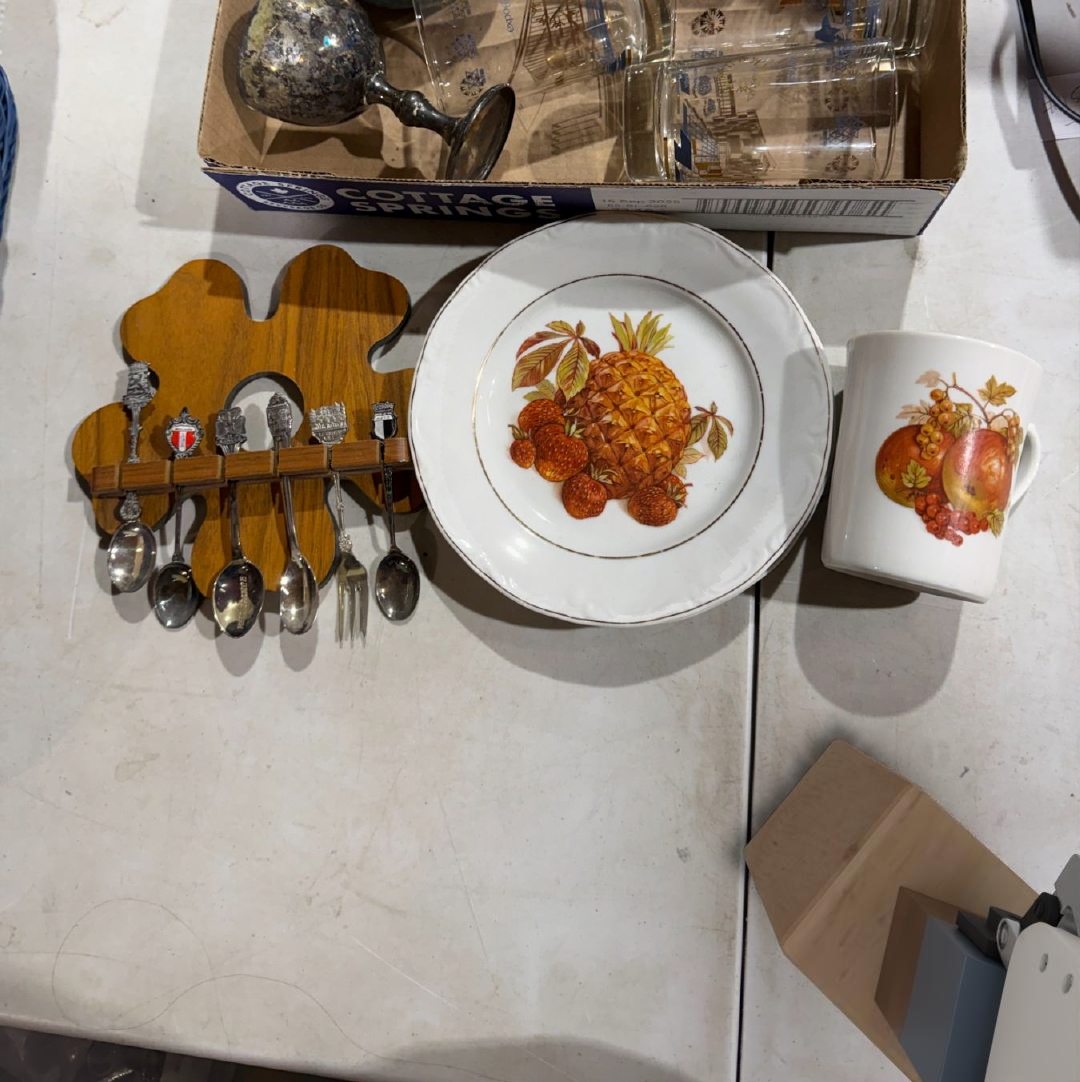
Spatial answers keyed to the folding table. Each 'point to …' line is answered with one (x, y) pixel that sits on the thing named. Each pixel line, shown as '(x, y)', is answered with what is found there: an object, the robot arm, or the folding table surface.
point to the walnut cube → (907, 952)
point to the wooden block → (865, 877)
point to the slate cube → (952, 1007)
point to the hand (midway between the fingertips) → (980, 1007)
